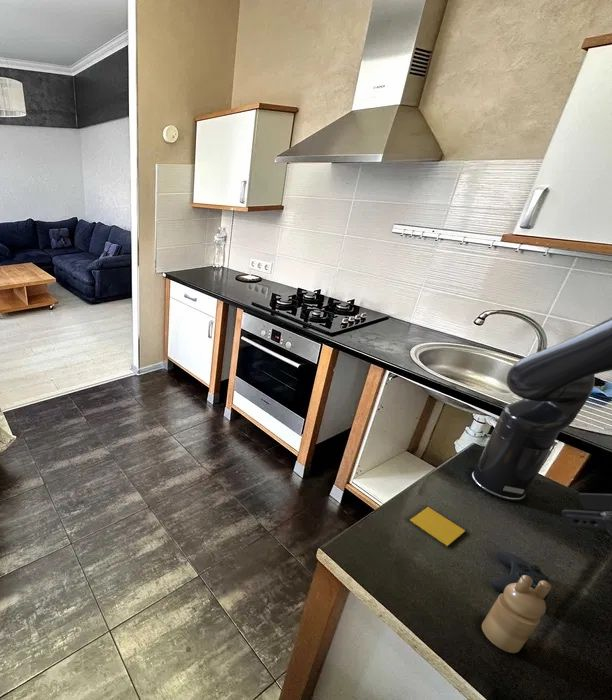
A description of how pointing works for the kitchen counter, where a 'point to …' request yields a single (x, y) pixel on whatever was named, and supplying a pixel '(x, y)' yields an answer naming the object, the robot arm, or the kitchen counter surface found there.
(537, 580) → the game controller
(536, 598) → the toy rabbit
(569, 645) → the kitchen counter surface
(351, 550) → the kitchen counter surface
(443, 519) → the flat yellow rectangular block
